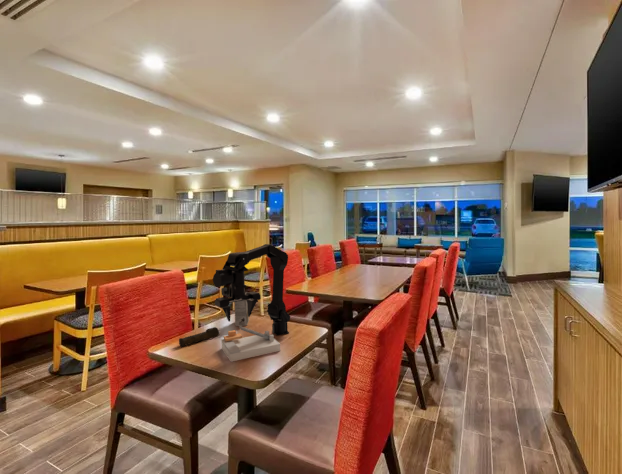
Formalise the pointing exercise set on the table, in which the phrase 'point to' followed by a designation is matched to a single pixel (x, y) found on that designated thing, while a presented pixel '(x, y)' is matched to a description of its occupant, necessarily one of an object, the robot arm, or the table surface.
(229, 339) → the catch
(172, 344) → the table surface
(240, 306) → the coffee box
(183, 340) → the hand tool
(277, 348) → the mount block
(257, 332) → the grey flat bar
